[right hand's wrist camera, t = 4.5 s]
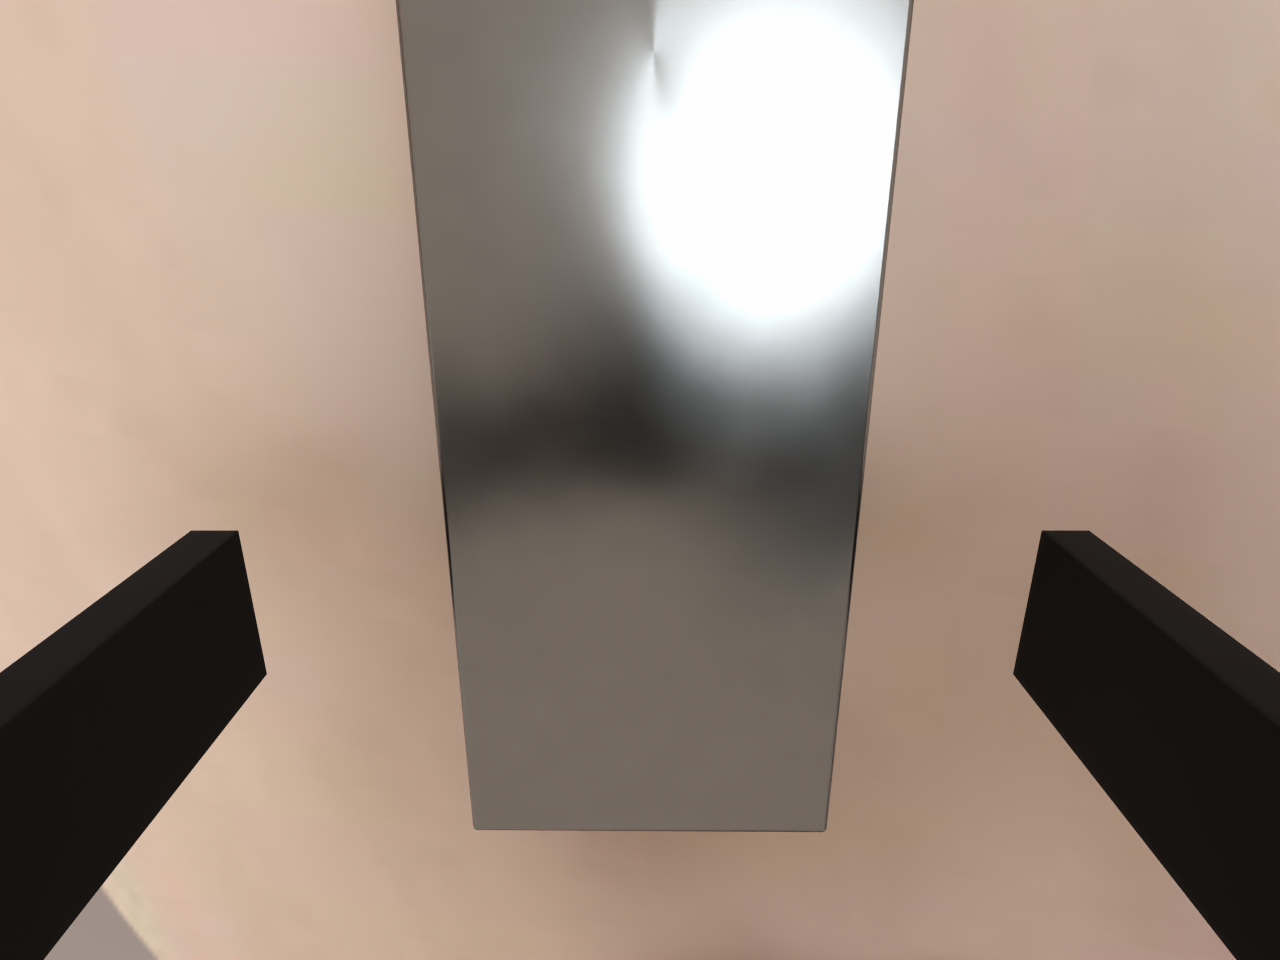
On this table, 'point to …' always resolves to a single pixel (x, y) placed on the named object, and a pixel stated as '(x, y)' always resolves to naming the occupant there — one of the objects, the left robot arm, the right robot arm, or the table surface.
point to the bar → (652, 389)
